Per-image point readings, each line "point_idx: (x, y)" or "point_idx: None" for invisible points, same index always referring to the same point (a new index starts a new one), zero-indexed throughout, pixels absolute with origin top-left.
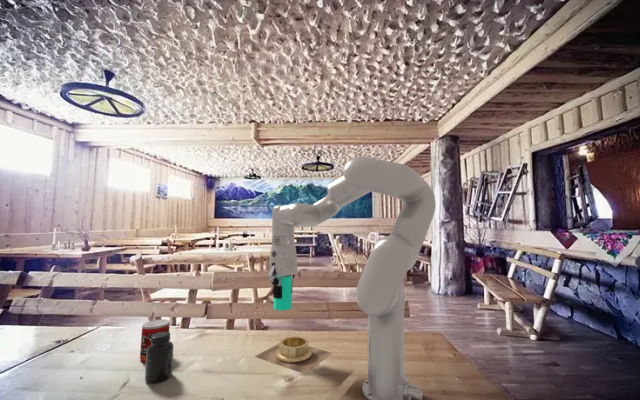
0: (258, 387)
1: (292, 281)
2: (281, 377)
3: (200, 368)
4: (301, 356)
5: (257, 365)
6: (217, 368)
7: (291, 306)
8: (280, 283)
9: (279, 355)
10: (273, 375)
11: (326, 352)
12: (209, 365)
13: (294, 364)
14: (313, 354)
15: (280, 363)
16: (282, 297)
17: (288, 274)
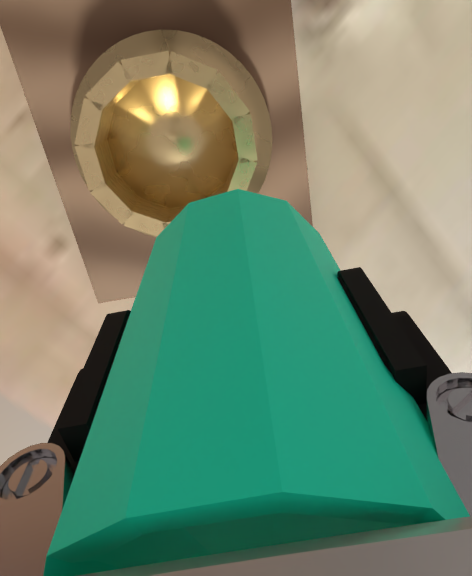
0: (456, 60)
1: (24, 467)
2: (336, 46)
3: (468, 350)
4: (188, 57)
5: (328, 220)
6: (436, 310)
7: (180, 215)
8: (453, 415)
9: (258, 166)
10: (346, 92)
11: (9, 9)
12: (436, 347)
13: (247, 52)
14: (90, 57)
15: (286, 120)
16: (332, 270)
17: (317, 569)
